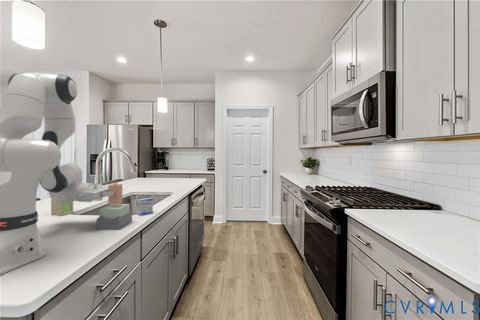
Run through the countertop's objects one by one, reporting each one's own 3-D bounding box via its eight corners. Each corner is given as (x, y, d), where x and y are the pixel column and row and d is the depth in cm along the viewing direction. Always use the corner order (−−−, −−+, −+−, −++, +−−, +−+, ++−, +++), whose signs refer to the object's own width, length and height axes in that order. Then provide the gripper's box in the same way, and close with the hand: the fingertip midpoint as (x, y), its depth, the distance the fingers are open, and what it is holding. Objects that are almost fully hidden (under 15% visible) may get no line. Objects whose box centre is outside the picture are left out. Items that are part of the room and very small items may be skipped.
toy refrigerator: (61, 216, 132) (61, 177, 131) (50, 215, 133) (50, 176, 133) (74, 212, 139) (74, 175, 139) (63, 211, 141) (63, 175, 140)
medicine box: (140, 215, 135) (140, 200, 135) (135, 214, 138) (135, 199, 138) (152, 213, 142) (153, 198, 141) (148, 212, 144) (148, 197, 144)
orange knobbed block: (118, 204, 115) (118, 183, 115) (108, 204, 115) (108, 183, 115) (122, 202, 120) (122, 182, 119) (113, 202, 119) (113, 182, 119)
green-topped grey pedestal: (119, 229, 111) (119, 209, 110) (96, 229, 110) (96, 209, 110) (131, 221, 125) (132, 203, 124) (111, 220, 124) (112, 203, 124)
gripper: (73, 189, 106) (106, 189, 107) (99, 183, 127) (126, 183, 127) (73, 203, 106) (106, 203, 107) (99, 195, 127) (126, 195, 127)
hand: (117, 192), depth 117 cm, fingers closed on orange knobbed block, 4 cm apart
